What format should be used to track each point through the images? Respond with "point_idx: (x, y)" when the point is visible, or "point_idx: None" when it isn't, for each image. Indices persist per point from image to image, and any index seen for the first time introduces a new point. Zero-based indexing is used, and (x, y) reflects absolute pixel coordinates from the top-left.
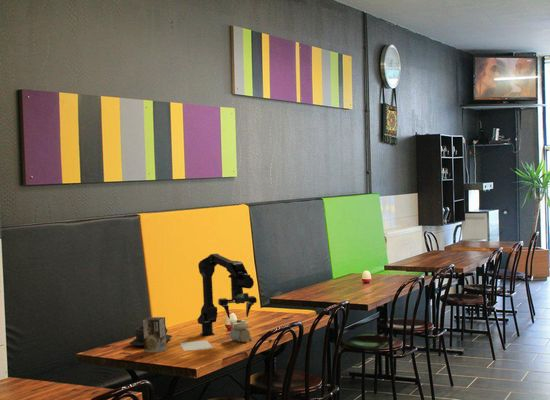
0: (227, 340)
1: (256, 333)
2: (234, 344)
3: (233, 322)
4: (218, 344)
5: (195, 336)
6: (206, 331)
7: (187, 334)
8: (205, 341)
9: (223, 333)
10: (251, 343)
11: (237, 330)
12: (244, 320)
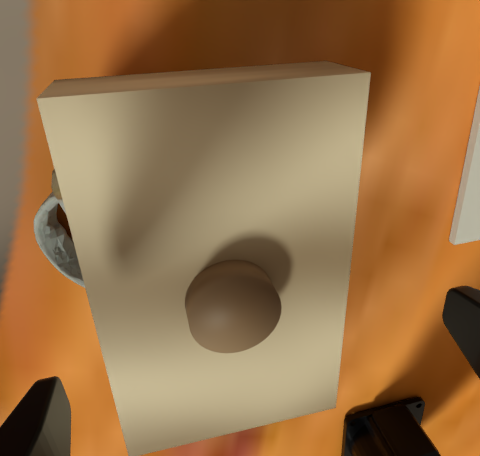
0: None
1: None
2: (256, 45)
3: (331, 269)
4: (403, 102)
5: (457, 392)
6: (415, 423)
7: (475, 437)
8: (476, 215)
9: (276, 452)
10: (43, 30)
11: None
12: (121, 390)
